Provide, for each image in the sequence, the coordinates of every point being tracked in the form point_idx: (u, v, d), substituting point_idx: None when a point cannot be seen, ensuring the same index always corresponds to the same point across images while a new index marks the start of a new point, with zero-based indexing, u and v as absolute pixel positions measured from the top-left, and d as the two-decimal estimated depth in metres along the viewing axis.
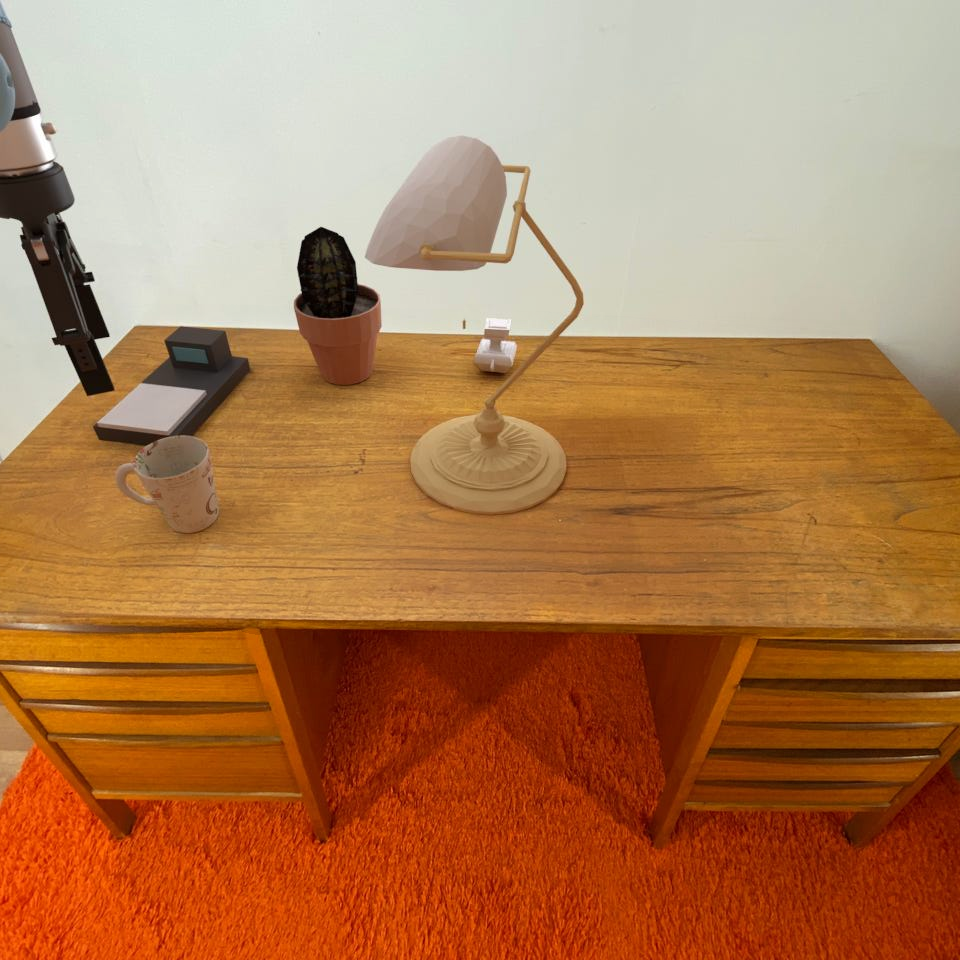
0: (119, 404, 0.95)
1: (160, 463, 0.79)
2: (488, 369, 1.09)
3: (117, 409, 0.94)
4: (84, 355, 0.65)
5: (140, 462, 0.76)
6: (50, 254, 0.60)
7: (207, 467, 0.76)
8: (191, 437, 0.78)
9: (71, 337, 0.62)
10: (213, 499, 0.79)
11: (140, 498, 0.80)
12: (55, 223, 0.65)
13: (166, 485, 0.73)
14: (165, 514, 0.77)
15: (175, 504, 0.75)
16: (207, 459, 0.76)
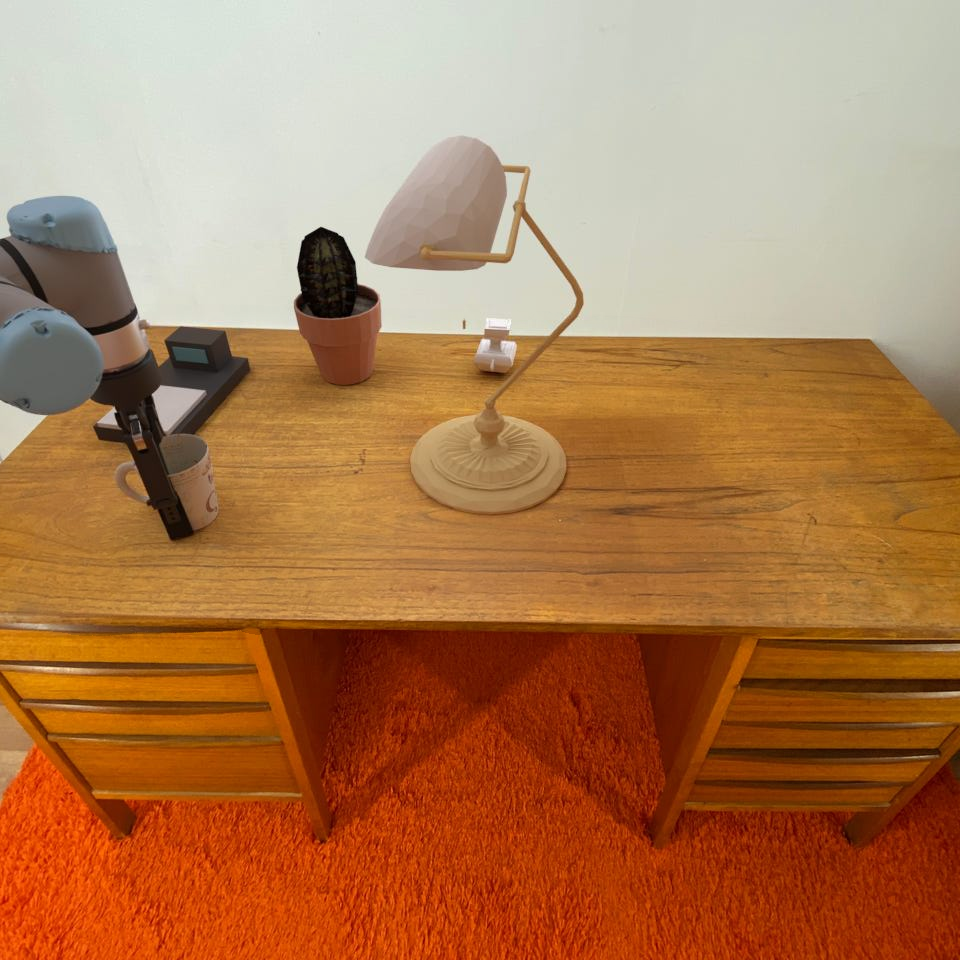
0: None
1: None
2: (488, 369, 1.09)
3: None
4: (171, 511, 0.75)
5: None
6: (148, 445, 0.67)
7: (207, 465, 0.76)
8: (190, 435, 0.79)
9: (164, 504, 0.72)
10: (213, 497, 0.80)
11: (140, 497, 0.80)
12: None
13: None
14: None
15: None
16: (207, 457, 0.76)
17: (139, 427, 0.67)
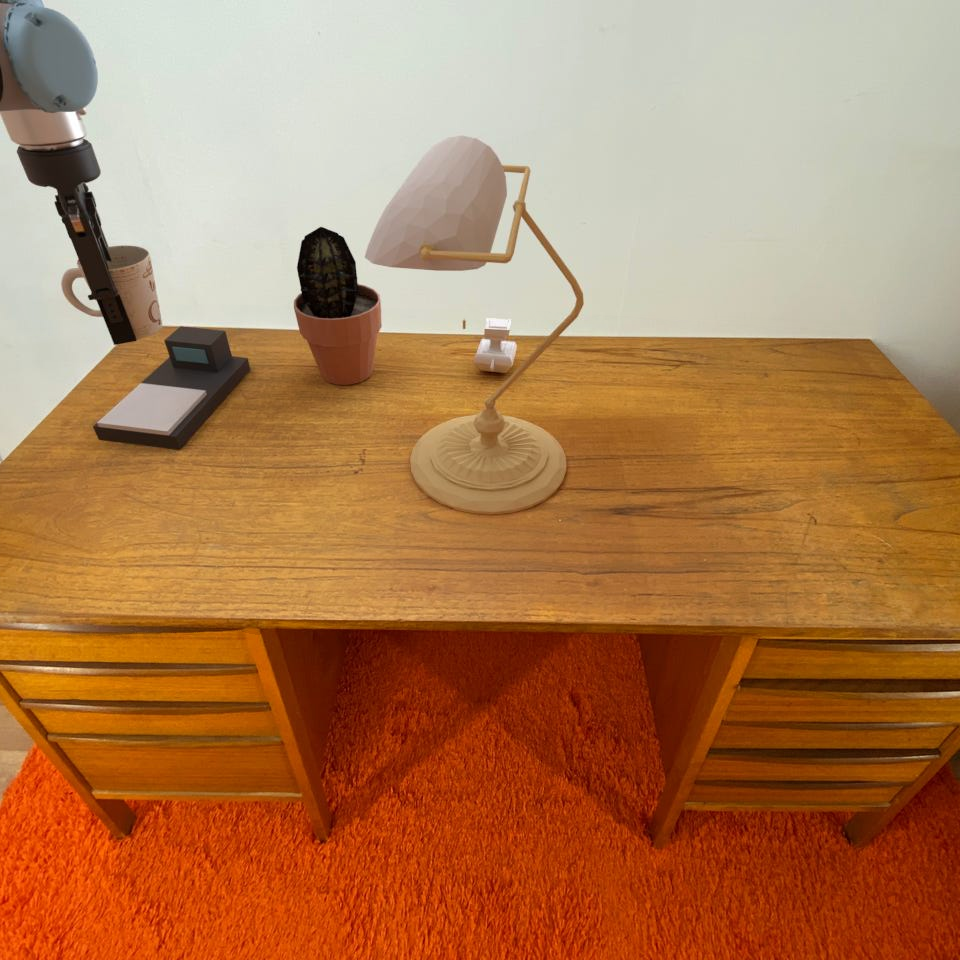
0: (119, 404, 0.95)
1: None
2: (488, 369, 1.09)
3: (117, 409, 0.94)
4: (112, 309, 0.80)
5: None
6: (86, 228, 0.72)
7: (148, 269, 0.81)
8: (133, 247, 0.84)
9: (104, 294, 0.77)
10: (155, 307, 0.85)
11: (86, 308, 0.85)
12: (84, 192, 0.76)
13: None
14: None
15: None
16: (148, 261, 0.81)
17: (76, 210, 0.72)
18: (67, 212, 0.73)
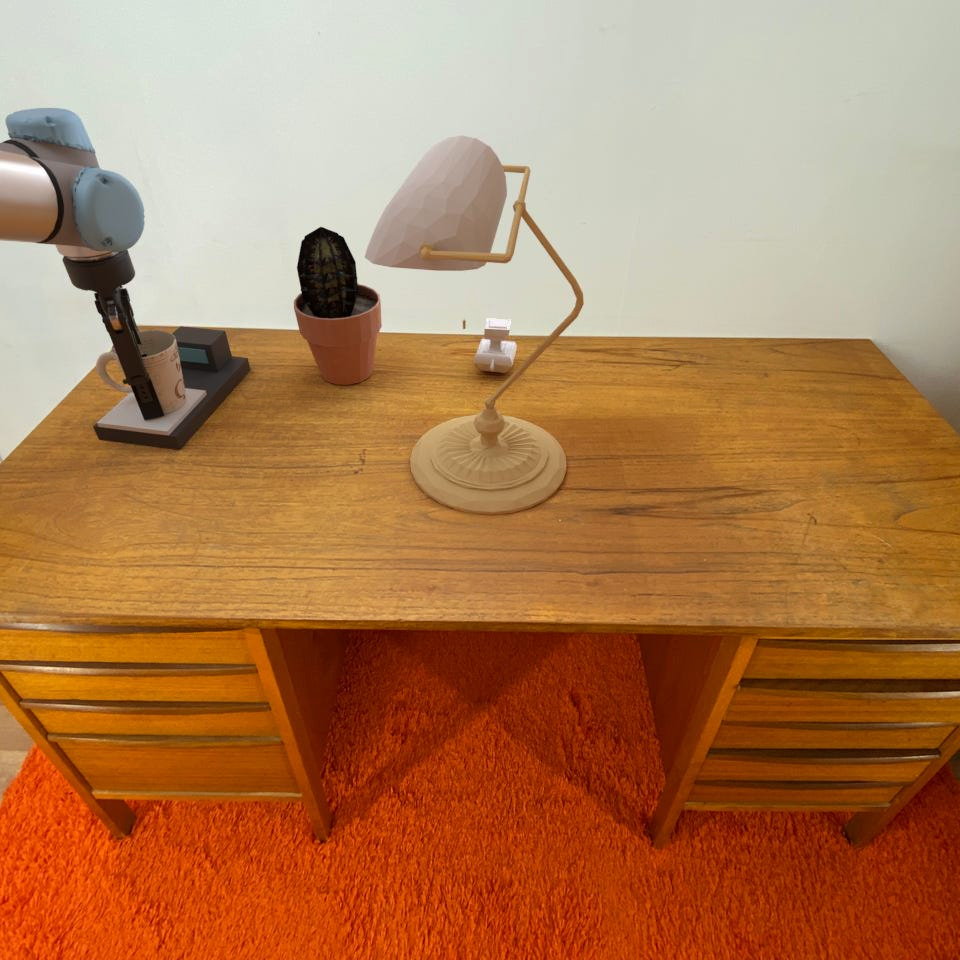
0: (119, 404, 0.95)
1: None
2: (488, 369, 1.09)
3: (117, 409, 0.94)
4: (144, 391, 0.88)
5: None
6: (123, 326, 0.81)
7: (175, 353, 0.90)
8: (161, 331, 0.92)
9: (137, 380, 0.85)
10: (181, 385, 0.94)
11: (118, 386, 0.94)
12: (119, 290, 0.85)
13: None
14: None
15: None
16: (174, 346, 0.90)
17: (115, 310, 0.81)
18: (106, 311, 0.81)
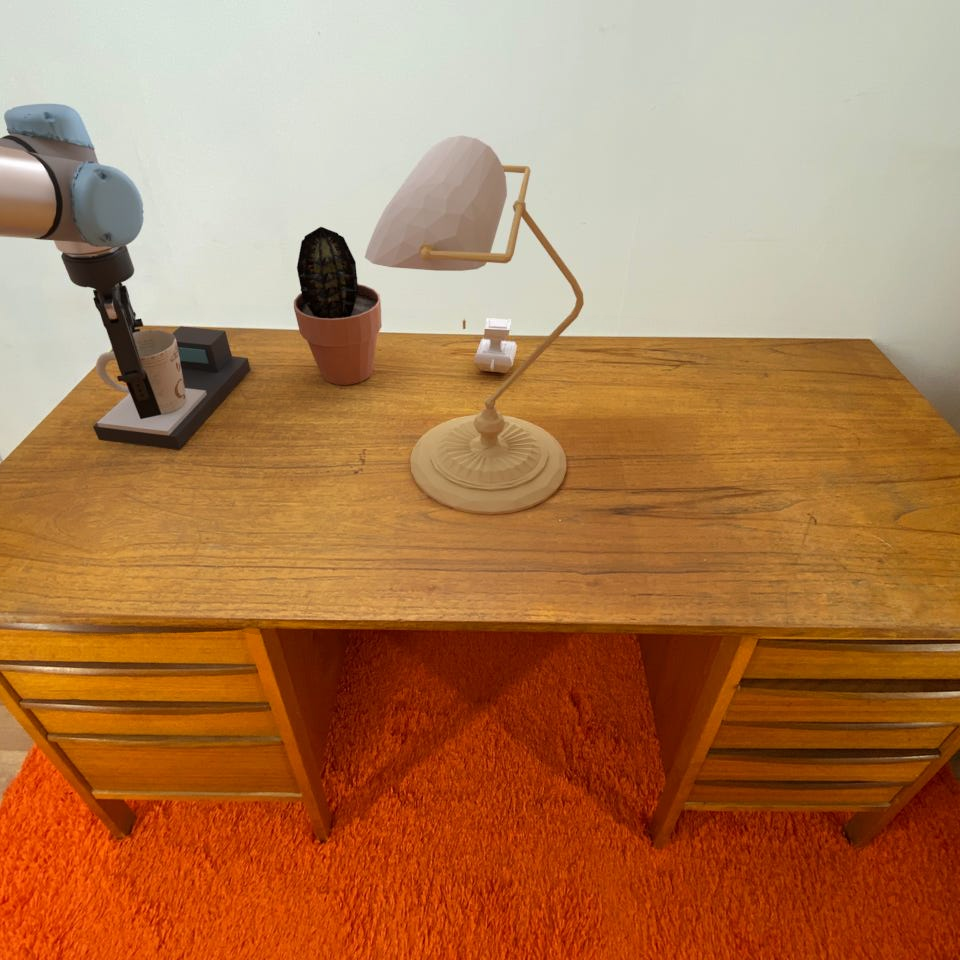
0: (119, 404, 0.95)
1: None
2: (488, 369, 1.09)
3: (117, 409, 0.94)
4: (140, 388, 0.85)
5: None
6: (118, 314, 0.79)
7: (175, 353, 0.90)
8: (161, 331, 0.92)
9: (132, 376, 0.82)
10: (181, 384, 0.94)
11: (118, 386, 0.94)
12: (118, 287, 0.85)
13: None
14: None
15: None
16: (174, 346, 0.90)
17: (112, 301, 0.80)
18: None
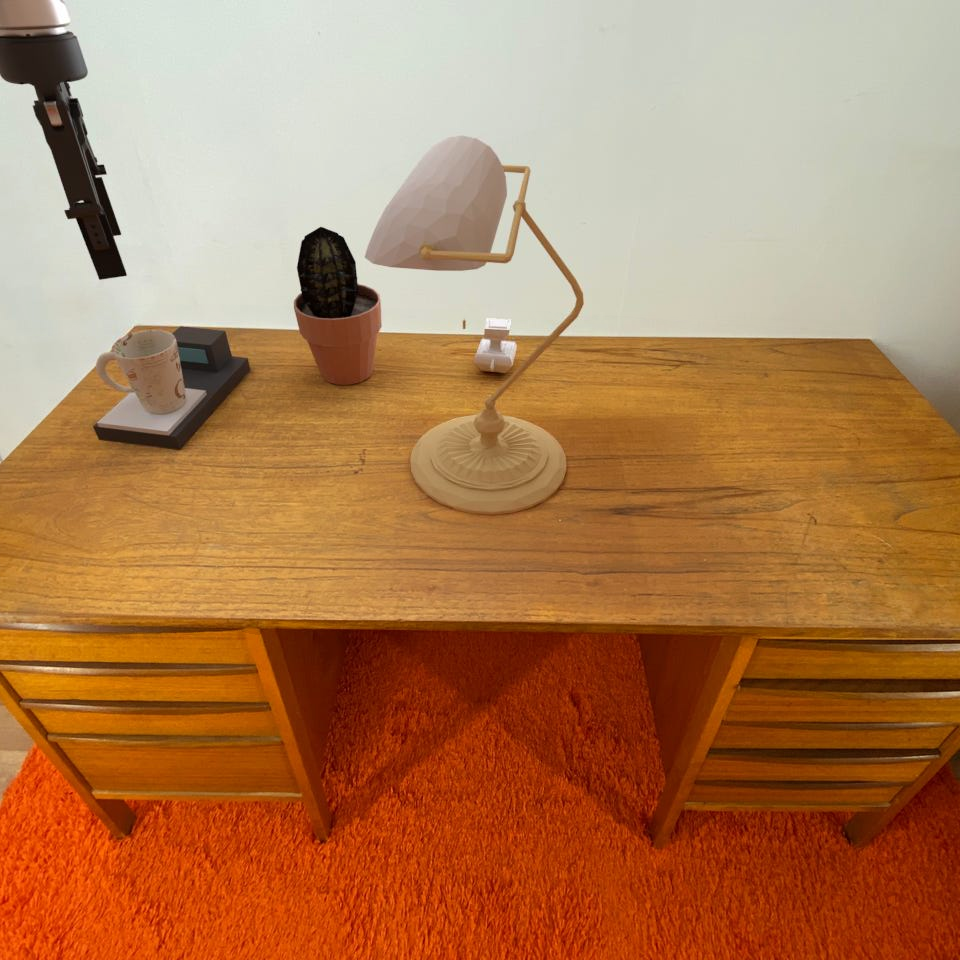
0: (119, 404, 0.95)
1: (135, 354, 0.93)
2: (488, 369, 1.09)
3: (117, 409, 0.94)
4: (96, 232, 0.65)
5: (117, 349, 0.90)
6: (63, 119, 0.59)
7: (175, 353, 0.90)
8: (161, 331, 0.92)
9: (84, 207, 0.61)
10: (181, 384, 0.94)
11: (118, 386, 0.94)
12: (68, 98, 0.65)
13: (140, 365, 0.87)
14: (140, 395, 0.91)
15: (148, 384, 0.90)
16: (174, 346, 0.90)
17: None
18: None
